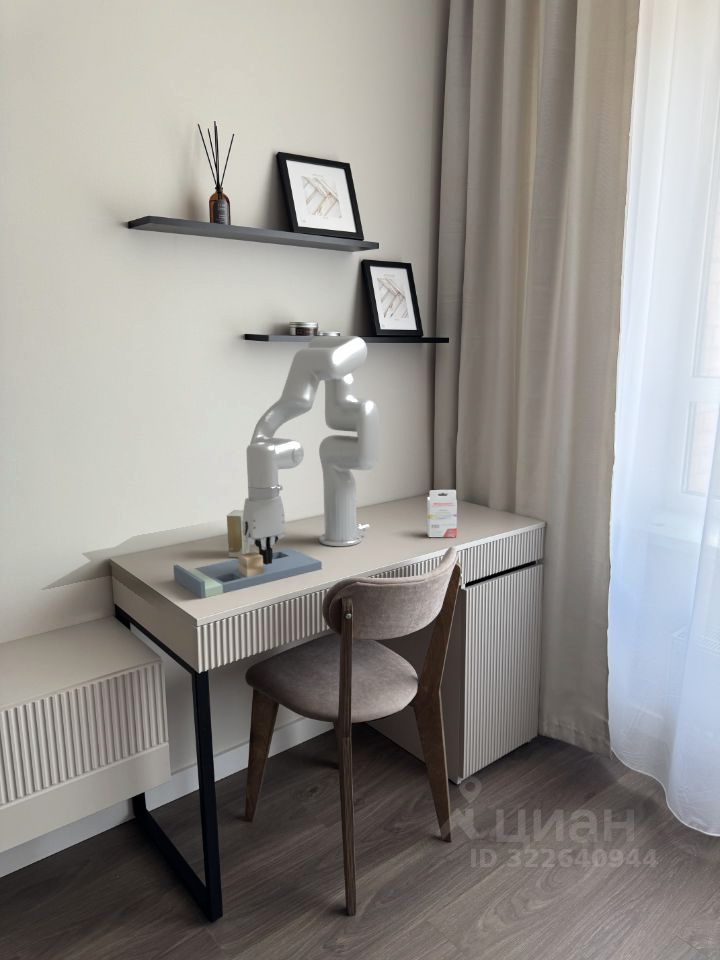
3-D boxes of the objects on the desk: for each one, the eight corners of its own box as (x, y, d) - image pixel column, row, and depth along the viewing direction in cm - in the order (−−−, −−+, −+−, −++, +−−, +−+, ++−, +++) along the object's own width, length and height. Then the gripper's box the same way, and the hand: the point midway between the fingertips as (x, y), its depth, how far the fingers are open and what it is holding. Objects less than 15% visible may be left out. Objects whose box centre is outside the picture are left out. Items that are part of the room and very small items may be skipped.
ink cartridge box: (454, 533, 219) (455, 486, 216) (456, 537, 214) (457, 490, 212) (426, 533, 219) (427, 486, 216) (428, 538, 214) (428, 490, 211)
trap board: (289, 554, 200) (289, 540, 199) (321, 568, 187) (321, 554, 187) (174, 580, 180) (173, 565, 179) (201, 598, 167) (200, 582, 167)
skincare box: (235, 551, 204) (233, 509, 202) (250, 551, 203) (248, 509, 201) (228, 557, 198) (225, 515, 195) (243, 558, 197) (241, 515, 195)
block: (254, 568, 182) (253, 551, 181) (263, 573, 178) (262, 555, 178) (238, 572, 179) (238, 555, 178) (247, 576, 176) (246, 559, 175)
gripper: (281, 486, 185) (283, 553, 189) (229, 494, 176) (232, 565, 180) (296, 490, 179) (299, 560, 183) (243, 499, 170) (247, 572, 174)
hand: (266, 562), depth 181 cm, fingers closed
